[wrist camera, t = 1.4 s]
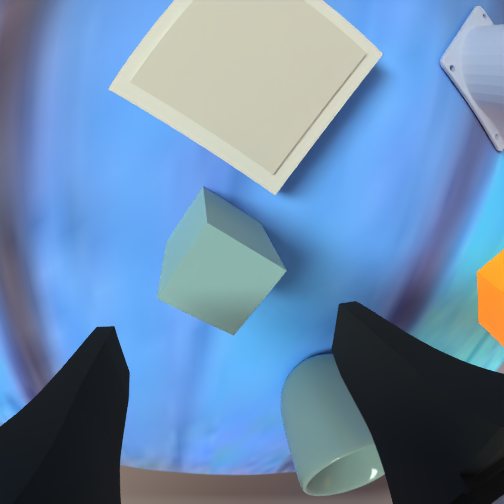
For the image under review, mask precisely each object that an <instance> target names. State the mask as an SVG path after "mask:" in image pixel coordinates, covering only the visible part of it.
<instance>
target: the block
mask: <svg viewBox="0 0 504 504" xmlns="http://www.w3.org/2000/svg"><path fill="white" fill-rule="evenodd" d="M286 271H287V270H286V268H285V266H284V265H283V263H282V261H281V259H280V257H279V256H278V254H277V252H276V250H275V248H274V246H273V245H272V243H271V241H270V239H269V237H268V236H267V234H266V232H265V230H264V228H263V227H262V225H261V223H260V222H259V221H257V220H255V219H254V218H252V217H251V216H249V215H248V214H246V213H245V212H243V211H241V210H240V209H238V208H237V207H235V206H234V205H232V204H230V203H229V202H227V201H226V200H224V199H223V198H221V197H219V196H218V195H216V194H215V193H213V192H212V191H210V190H208V189H207V188H205V187H204V186H203V187H202V189H201V190H200V192H199V193H198V195H197V196H196V198H195V199H194V201H193V202H192V204H191V205H190V207H189V208H188V210H187V211H186V213H185V214H184V216H183V217H182V219H181V220H180V222H179V223H178V225H177V227H176V228H175V230H174V231H173V233H172V234H171V236H170V237H169V239H168V241H167V242H166V247H165V252H164V258H163V264H162V270H161V276H160V282H159V289H158V295H157V299H159V300H161V301H163V302H165V303H167V304H169V305H171V306H173V307H175V308H177V309H179V310H181V311H183V312H185V313H187V314H189V315H191V316H193V317H195V318H198V319H200V320H202V321H204V322H206V323H208V324H210V325H212V326H214V327H217V328H219V329H221V330H223V331H225V332H227V333H230V334H232V335H234V334H235V333H236V332H237V331H238V330H239V328H240V327H241V326H242V325H243V324H244V322H245V321H246V320H247V319H248V318H249V316H250V315H251V314H252V313H253V312H254V310H255V309H256V308H257V307H258V306H259V304H260V303H261V302H262V301H263V299H264V298H265V297H266V296H267V295H268V293H269V292H270V291H271V290H272V288H273V287H274V286H275V285H276V283H277V282H278V281H279V280H280V279H281V277H282V276H283V275H284V274H285V272H286Z"/></svg>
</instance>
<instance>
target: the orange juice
mask: <svg viewBox="0 0 504 504" xmlns="http://www.w3.org/2000/svg"><path fill="white" fill-rule="evenodd" d="M477 283H478V311H479V323H480V324H481V325H482V326H483V327H484V328H485V329H486V330H487V331H488V332H489V333H490V334H491V335H492V336H493V337H494V338H495V339H496V340H497V341H498V342H499V343H500V344H501V345H502V346H503V347H504V249H503V250H502V251H501V252H500V253H499V254H498V255H497V256H495V257H494V258H493V259H492V260H491V261H490V262H488V263H487V264H486V265H485V266H484V267H482V268H481V269H480V270H479V271H477Z"/></svg>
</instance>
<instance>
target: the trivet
mask: <svg viewBox="0 0 504 504" xmlns="http://www.w3.org/2000/svg"><path fill="white" fill-rule="evenodd" d="M382 55H383V54H382V53H381V52H380V51H379V50H378V49H377V48H376V47H375V46H374V45H373V44H372V43H371V42H370V41H369V40H368V39H367V38H366V37H365V36H364V35H363V34H362V33H360V32H359V31H358V30H357V29H356V28H355V27H354V26H353V25H352V24H350V23H349V22H348V21H347V20H346V19H345V18H343V17H342V16H341V15H340V14H339V13H338V12H336V11H335V10H334V9H333V8H331V7H330V6H329V5H328V4H326V3H325V2H324V1H323V0H174V1H173V3H172V4H171V5H170V6H169V7H168V8H167V10H166V11H165V12H164V13H163V14H162V16H161V17H160V18H159V19H158V20H157V22H156V23H155V24H154V25H153V27H152V28H151V29H150V30H149V32H148V33H147V34H146V36H145V37H144V38H143V40H142V41H141V42H140V44H139V45H138V46H137V48H136V49H135V50H134V52H133V53H132V55H131V56H130V57H129V59H128V60H127V62H126V63H125V65H124V66H123V67H122V69H121V70H120V72H119V73H118V75H117V76H116V78H115V79H114V81H113V82H112V84H111V86H110V87H109V90H111V91H112V92H114V93H116V94H118V95H119V96H121V97H123V98H124V99H126V100H128V101H130V102H131V103H133V104H135V105H136V106H138V107H140V108H141V109H143V110H145V111H146V112H148V113H150V114H151V115H153V116H155V117H156V118H158V119H160V120H161V121H163V122H164V123H166V124H168V125H169V126H171V127H172V128H174V129H176V130H177V131H179V132H180V133H182V134H184V135H185V136H187V137H188V138H190V139H192V140H193V141H195V142H196V143H198V144H199V145H201V146H203V147H204V148H206V149H207V150H209V151H210V152H212V153H213V154H215V155H216V156H218V157H219V158H221V159H222V160H224V161H226V162H227V163H229V164H230V165H232V166H233V167H235V168H236V169H238V170H239V171H241V172H242V173H244V174H245V175H246V176H248V177H249V178H251V179H252V180H254V181H255V182H257V183H258V184H260V185H261V186H263V187H264V188H266V189H267V190H268V191H270V192H271V193H273V194H274V195H276V194H277V192H278V191H279V190H280V188H281V187H282V186H283V184H284V183H285V182H286V180H287V179H288V178H289V176H290V175H291V174H292V172H293V171H294V170H295V168H296V167H297V166H298V164H299V163H300V162H301V160H302V159H303V158H304V156H305V155H306V154H307V152H308V151H309V150H310V148H311V147H312V146H313V144H314V143H315V142H316V141H317V139H318V138H319V137H320V135H321V134H322V133H323V131H324V130H325V129H326V127H327V126H328V125H329V123H330V122H331V121H332V120H333V118H334V117H335V116H336V114H337V113H338V112H339V110H340V109H341V108H342V106H343V105H344V104H345V103H346V101H347V100H348V99H349V97H350V96H351V95H352V93H353V92H354V91H355V90H356V88H357V87H358V86H359V84H360V83H361V82H362V80H363V79H364V78H365V77H366V75H367V74H368V73H369V71H370V70H371V69H372V68H373V66H374V65H375V64H376V62H377V61H378V60H379V59H380V57H381V56H382Z"/></svg>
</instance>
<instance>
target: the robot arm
mask: <svg viewBox="0 0 504 504" xmlns="http://www.w3.org/2000/svg"><path fill="white" fill-rule="evenodd" d="M440 64H441V67H442V68H443V69H444V71H445V72H446V73H447V75H448V76H449V77H450V79H451V80H452V81H453V83H454V84H455V85H456V87H457V88H458V90H459V91H460V92H461V94H462V95H463V97H464V98H465V100H466V101H467V102H468V104H469V105H470V107H471V108H472V110H473V111H474V113H475V115H476V116H477V118H478V119H479V121H480V122H481V124H482V126H483V127H484V129H485V131H486V132H487V134H488V136H489V137H490V139H491V141H492V143H493V144H494V146H495V148H496V149H497V150H498V151H502V150H503V149H504V24H503V25H494V24H493V23H492V21H491V20H490V18H489V17H488V15H487V14H486V13H485V11H484V10H483V9H482V7H480V6H476V7H474V9H473V10H472V12H471V14H470V15H469V17H468V18H467V20H466V21H465V23H464V24H463V26H462V27H461V29H460V30H459V32H458V33H457V35H456V36H455V38H454V39H453V41H452V42H451V44H450V45H449V47H448V48H447V50H446V51H445V53H444V54H443V56H442V57H441V59H440ZM450 67H451V70H450ZM332 353H333V356H334V359H335V362H336V365H337V367H338V370H339V373H340V375H341V377H342V379H343V381H344V383H345V385H346V387H347V389H348V391H349V392H350V394H351V396H352V398H353V400H354V402H355V404H356V406H357V407H358V409H359V411H360V413H361V415H362V417H363V419H364V421H365V423H366V424H367V427H368V429H369V431H370V433H371V435H372V438H373V441H374V443H375V446H376V449H377V452H378V454H379V457H380V460H381V463H382V466H383V469H384V473H385V476H386V479H387V482H388V486H389V490H390V494H391V498H392V502H393V504H504V374H502V373H498V372H495V371H491V370H487V369H484V368H481V367H478V366H475V365H472V364H469V363H467V362H464V361H462V360H459V359H457V358H455V357H452V356H450V355H448V354H446V353H443V352H441V351H439V350H437V349H435V348H433V347H431V346H429V345H428V344H426V343H424V342H422V341H420V340H418V339H417V338H415V337H413V336H411V335H410V334H408V333H406V332H405V331H403V330H401V329H400V328H398V327H397V326H395V325H393V324H392V323H390V322H389V321H387V320H386V319H384V318H382V317H381V316H379V315H378V314H376V313H375V312H373V311H371V310H370V309H368V308H367V307H365V306H363V305H362V304H360V303H358V302H356V301H354V302H348V303H341V304H339V308H338V314H337V321H336V327H335V333H334V339H333V345H332ZM129 375H130V372H129V369H128V366H127V364H126V361H125V358H124V355H123V352H122V349H121V346H120V343H119V340H118V337H117V334H116V330H115V327H114V326H110V327H96V328H95V330H94V331H93V332H92V333H91V334H90V335H89V336H88V338H87V339H86V340H85V341H84V342H83V344H82V345H81V346H80V347H79V348H78V350H77V351H76V352H75V353H74V354H73V355H72V357H71V358H70V359H69V360H68V361H67V363H66V364H65V365H64V366H63V367H62V369H61V370H60V371H59V372H58V373H57V374H56V375H55V376H54V377H53V378H52V379H51V381H50V382H49V383H48V384H47V385H46V386H45V387H44V388H43V389H42V390H41V391H40V392H39V393H38V394H37V395H36V396H35V397H34V398H33V399H32V400H31V401H30V402H29V403H28V404H27V405H26V406H25V407H24V408H23V409H21V410H20V411H19V412H18V413H17V414H16V415H14V416H13V417H12V418H11V419H9V420H8V421H7V422H5V423H4V424H3V425H2V426H0V504H121V498H120V456H121V448H122V441H123V434H124V427H125V420H126V413H127V407H128V400H129Z"/></svg>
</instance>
